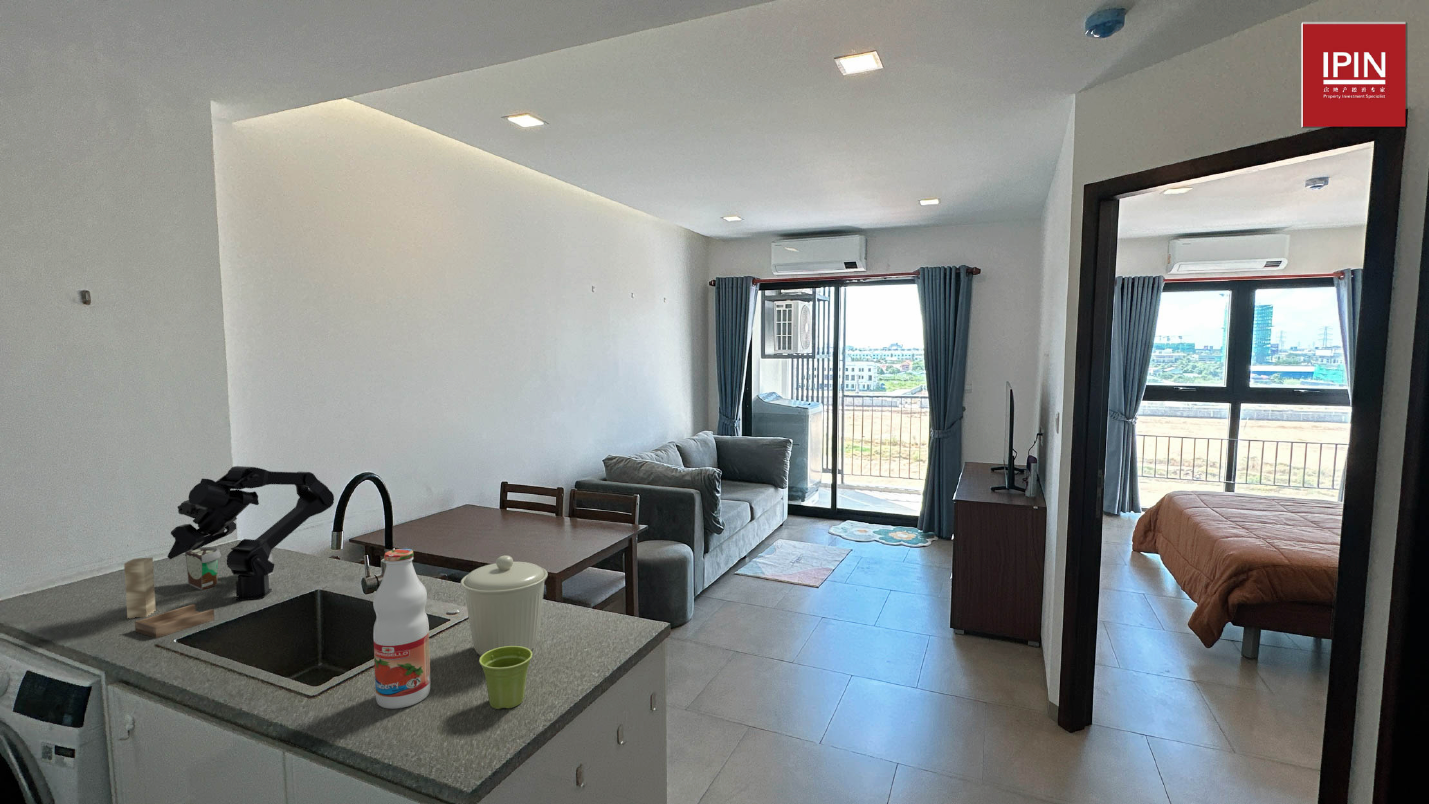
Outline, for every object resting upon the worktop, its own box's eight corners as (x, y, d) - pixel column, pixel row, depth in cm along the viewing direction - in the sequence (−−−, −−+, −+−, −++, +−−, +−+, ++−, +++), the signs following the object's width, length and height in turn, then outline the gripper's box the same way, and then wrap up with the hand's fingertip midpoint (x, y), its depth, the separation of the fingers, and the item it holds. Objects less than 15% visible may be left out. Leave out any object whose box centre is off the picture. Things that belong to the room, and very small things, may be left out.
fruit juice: (440, 686, 127) (436, 546, 126) (410, 712, 118) (405, 560, 116) (397, 683, 129) (392, 543, 127) (364, 707, 120) (358, 558, 118)
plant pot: (511, 684, 128) (510, 641, 128) (543, 698, 123) (542, 653, 122) (469, 704, 121) (468, 659, 120) (502, 720, 115) (501, 672, 115)
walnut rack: (193, 613, 165) (192, 604, 165) (214, 619, 161) (213, 609, 161) (135, 631, 154) (134, 621, 154) (156, 638, 150) (155, 627, 150)
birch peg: (155, 611, 167) (152, 557, 166) (146, 616, 163) (143, 562, 162) (136, 612, 166) (133, 558, 165) (127, 618, 162) (124, 563, 161)
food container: (229, 584, 187) (228, 550, 186) (204, 591, 182) (202, 555, 181) (211, 577, 193) (209, 544, 193) (186, 583, 188) (184, 549, 188)
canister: (461, 641, 148) (458, 550, 147) (542, 627, 155) (540, 541, 154) (464, 675, 132) (461, 573, 130) (555, 659, 139) (553, 562, 138)
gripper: (223, 484, 180) (179, 525, 179) (178, 494, 162) (129, 540, 160) (255, 511, 181) (212, 552, 180) (214, 525, 163) (166, 571, 162)
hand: (180, 553), depth 170 cm, fingers open, 9 cm apart
